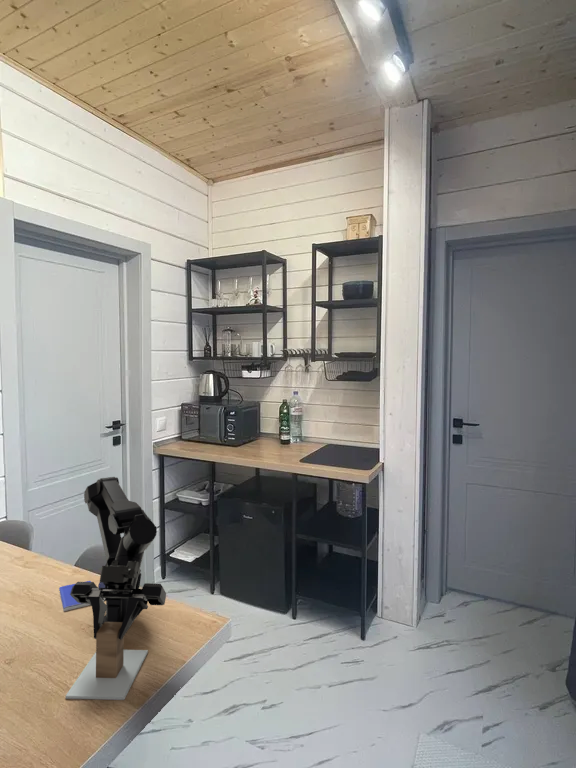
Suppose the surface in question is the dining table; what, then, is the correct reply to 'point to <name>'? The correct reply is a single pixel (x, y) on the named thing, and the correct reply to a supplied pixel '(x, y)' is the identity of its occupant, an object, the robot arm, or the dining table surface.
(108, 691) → the mat
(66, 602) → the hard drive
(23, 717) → the dining table surface
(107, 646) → the walnut block
